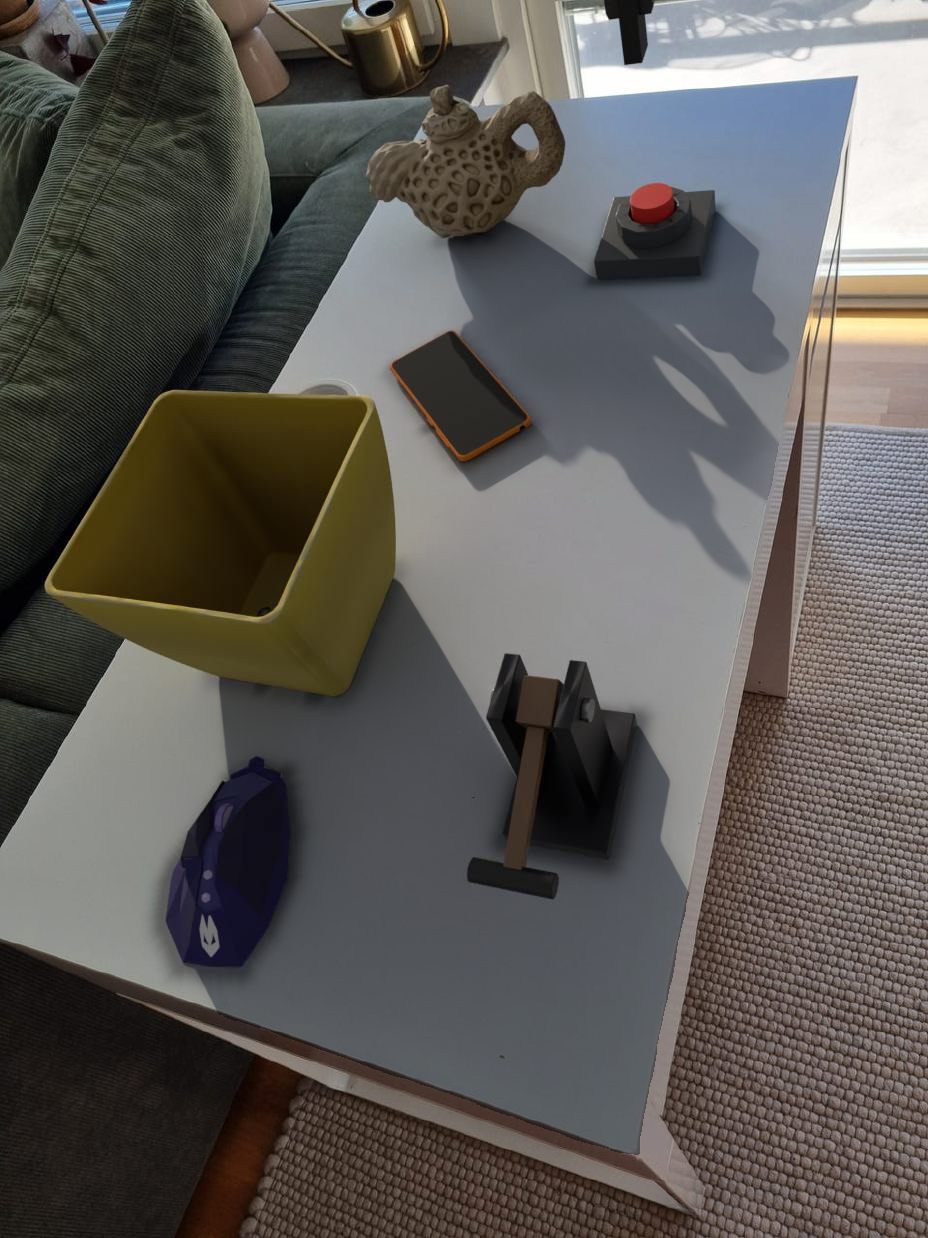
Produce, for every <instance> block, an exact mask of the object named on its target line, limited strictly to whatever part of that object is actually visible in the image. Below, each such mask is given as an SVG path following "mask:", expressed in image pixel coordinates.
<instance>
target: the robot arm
mask: <svg viewBox="0 0 928 1238" xmlns="http://www.w3.org/2000/svg"><path fill="white" fill-rule="evenodd" d="M655 3H656V0H603V4H604V5H603V6H604V13H605V15H606V17H607V19H608V20H609V21H612V20H618V25H619V32H620V40H621V49H622V50H621V51H622V59H623V64H624V66H630V65H637V64H643V62H644V59H645V56H646V52H647V50H648V47H649V42H648V32H647V31H648V30H647V22H646V21H647V20H646V15H651V14H652V12H653V10H654V6H655Z"/></svg>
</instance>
